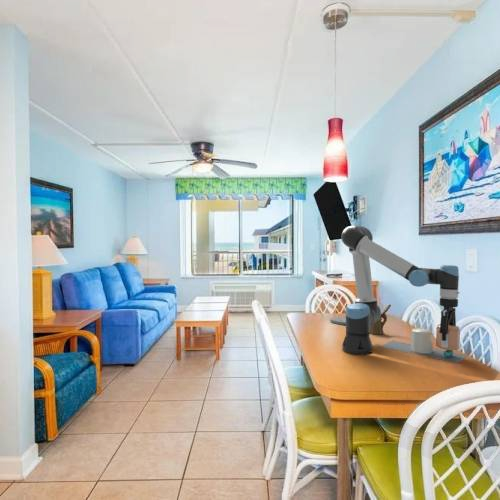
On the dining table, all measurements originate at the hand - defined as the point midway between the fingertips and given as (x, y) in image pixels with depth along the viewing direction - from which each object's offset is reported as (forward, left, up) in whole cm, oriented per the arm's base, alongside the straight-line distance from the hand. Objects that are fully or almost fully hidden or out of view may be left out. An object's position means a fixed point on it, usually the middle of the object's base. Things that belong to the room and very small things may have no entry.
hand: (447, 345), depth 162 cm
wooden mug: (+24, +45, -7) cm, 51 cm away
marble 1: (-2, 0, -4) cm, 4 cm away
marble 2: (+2, 0, -4) cm, 4 cm away
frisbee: (+37, +72, -7) cm, 81 cm away
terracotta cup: (0, 0, -1) cm, 1 cm away
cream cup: (0, +12, -5) cm, 13 cm away
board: (0, +12, -7) cm, 13 cm away
